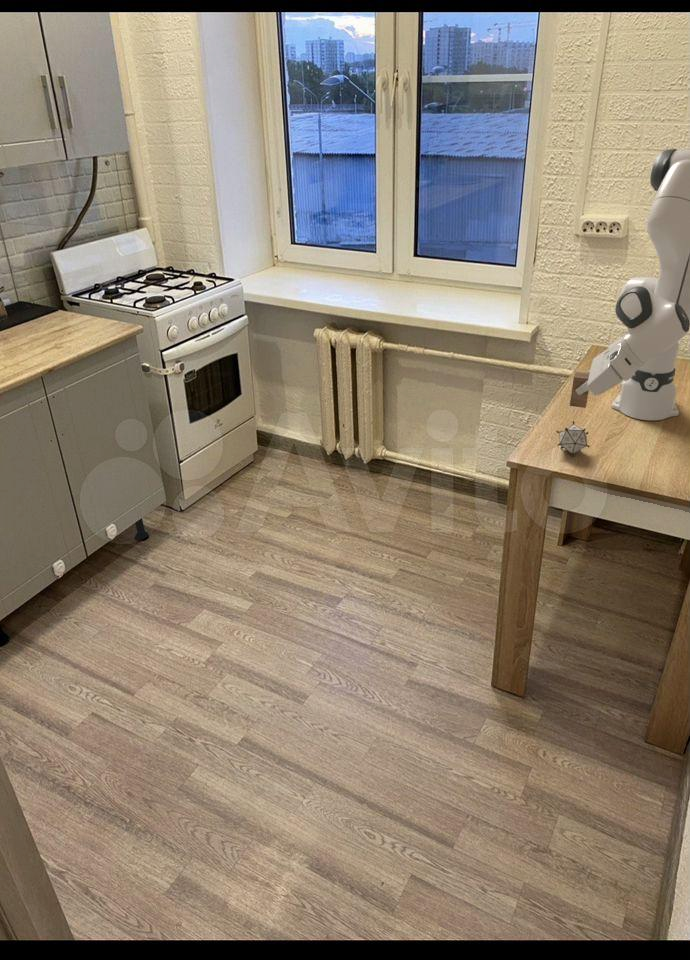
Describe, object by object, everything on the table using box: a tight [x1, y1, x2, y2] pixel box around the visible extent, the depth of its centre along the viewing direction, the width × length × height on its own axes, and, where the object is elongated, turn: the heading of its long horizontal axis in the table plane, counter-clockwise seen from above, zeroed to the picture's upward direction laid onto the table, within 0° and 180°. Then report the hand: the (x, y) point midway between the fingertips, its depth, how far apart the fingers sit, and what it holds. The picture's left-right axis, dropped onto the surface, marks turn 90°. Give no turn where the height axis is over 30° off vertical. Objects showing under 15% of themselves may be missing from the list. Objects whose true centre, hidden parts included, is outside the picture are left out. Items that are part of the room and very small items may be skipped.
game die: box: [556, 420, 591, 458], centre depth 190 cm, size 9×8×10 cm
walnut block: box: [569, 370, 590, 409], centre depth 183 cm, size 4×4×8 cm
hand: (578, 388), depth 183 cm, fingers closed on walnut block, 4 cm apart
